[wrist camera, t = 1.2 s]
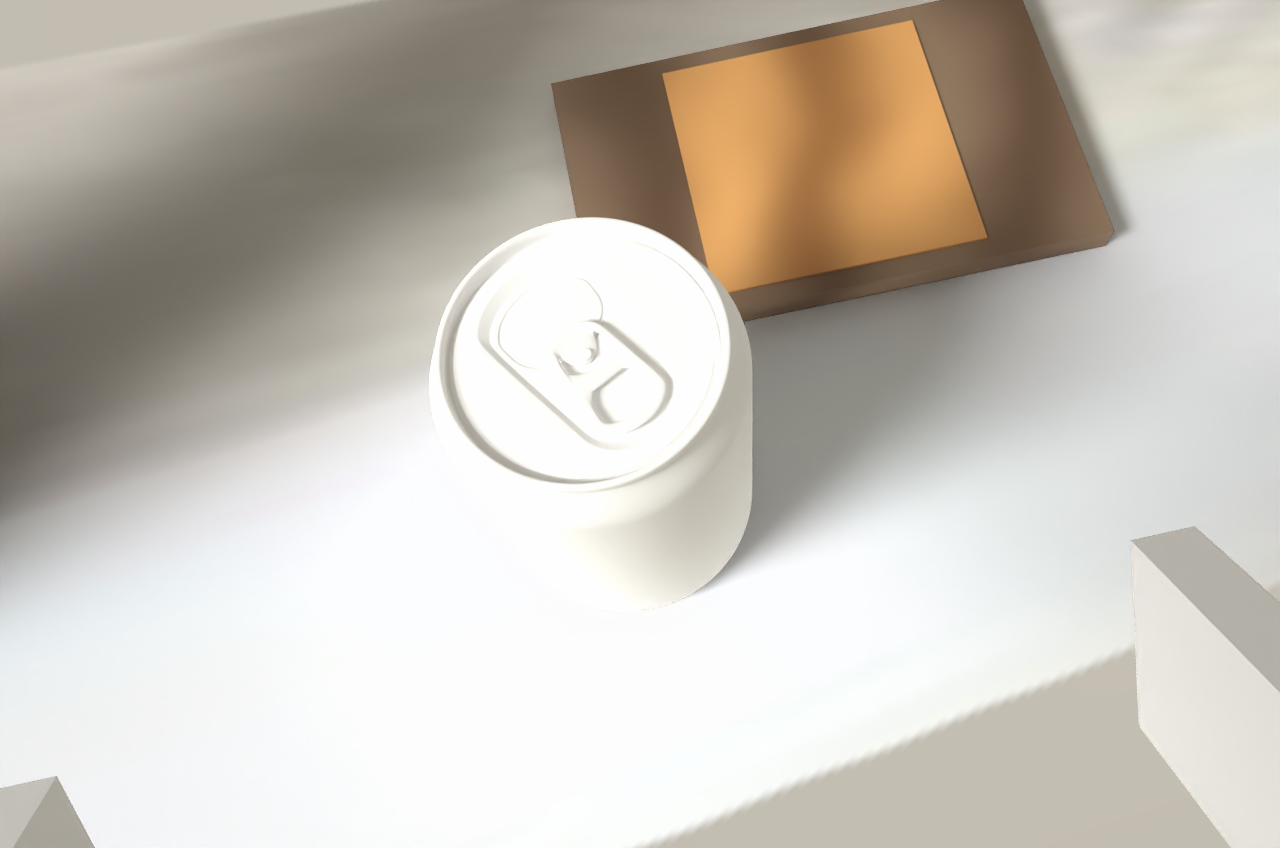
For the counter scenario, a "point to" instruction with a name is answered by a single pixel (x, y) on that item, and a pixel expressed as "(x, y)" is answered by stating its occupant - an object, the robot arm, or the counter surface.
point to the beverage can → (601, 409)
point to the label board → (841, 155)
